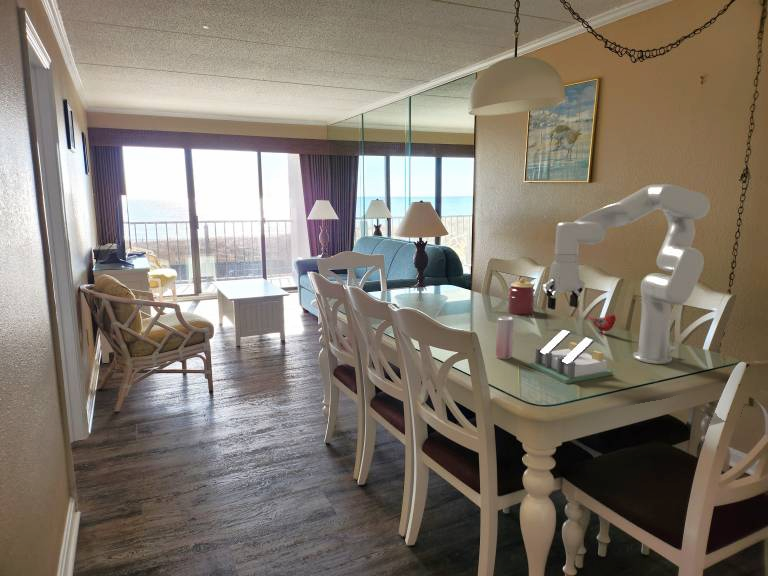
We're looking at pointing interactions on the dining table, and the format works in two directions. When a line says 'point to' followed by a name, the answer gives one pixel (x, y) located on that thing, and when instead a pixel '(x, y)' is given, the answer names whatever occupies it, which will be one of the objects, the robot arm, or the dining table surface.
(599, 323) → the decorative bird figurine
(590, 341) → the near strap
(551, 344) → the strap
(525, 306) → the canister
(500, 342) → the beverage can
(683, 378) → the dining table surface
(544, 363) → the board
